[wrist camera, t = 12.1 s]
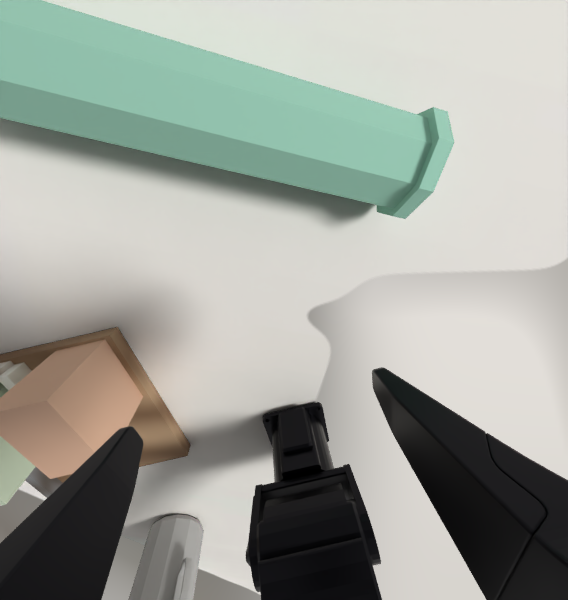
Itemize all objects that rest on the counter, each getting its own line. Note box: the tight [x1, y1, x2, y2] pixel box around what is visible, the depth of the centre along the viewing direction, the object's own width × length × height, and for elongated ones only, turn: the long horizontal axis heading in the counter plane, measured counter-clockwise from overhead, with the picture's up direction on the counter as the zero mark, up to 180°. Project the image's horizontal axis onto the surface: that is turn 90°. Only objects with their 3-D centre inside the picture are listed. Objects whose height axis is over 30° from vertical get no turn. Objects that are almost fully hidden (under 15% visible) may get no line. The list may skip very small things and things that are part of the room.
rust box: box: [0, 339, 143, 479], centre depth 18 cm, size 4×6×6 cm, turn 12°
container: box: [0, 0, 454, 219], centre depth 13 cm, size 6×6×25 cm
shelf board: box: [0, 327, 190, 498], centre depth 23 cm, size 16×15×3 cm
